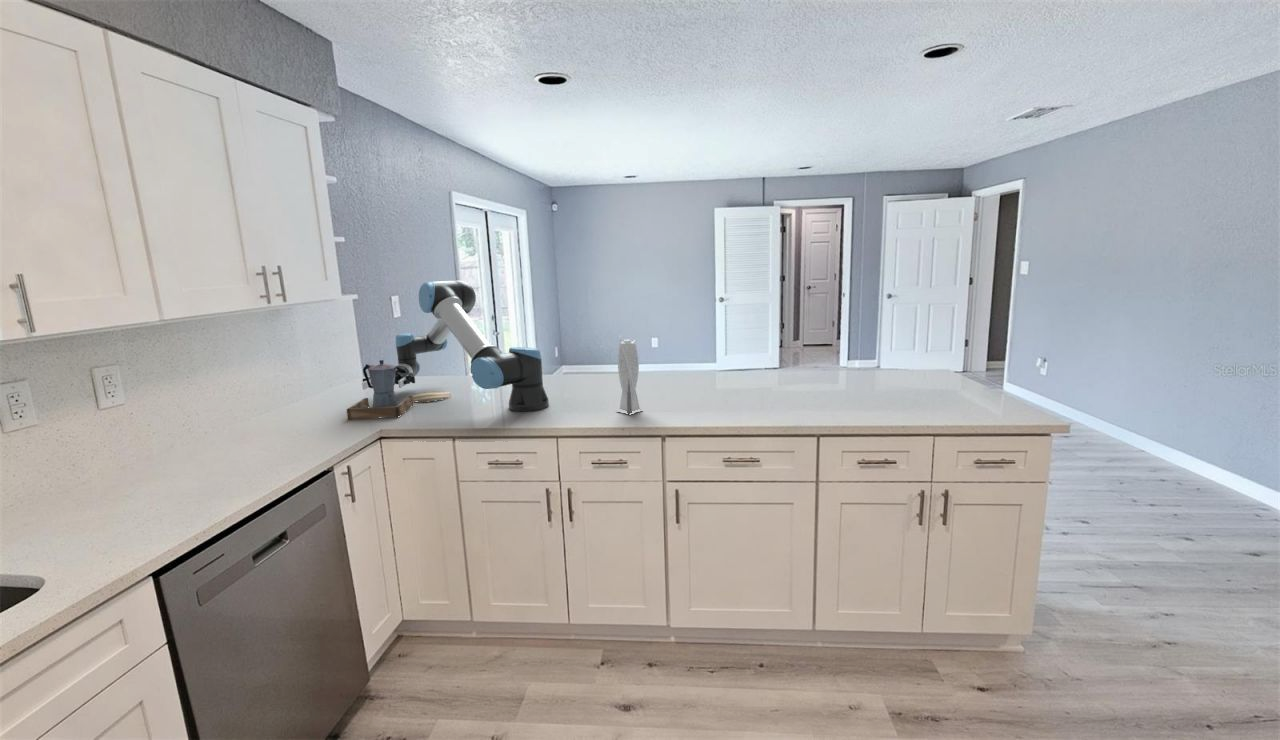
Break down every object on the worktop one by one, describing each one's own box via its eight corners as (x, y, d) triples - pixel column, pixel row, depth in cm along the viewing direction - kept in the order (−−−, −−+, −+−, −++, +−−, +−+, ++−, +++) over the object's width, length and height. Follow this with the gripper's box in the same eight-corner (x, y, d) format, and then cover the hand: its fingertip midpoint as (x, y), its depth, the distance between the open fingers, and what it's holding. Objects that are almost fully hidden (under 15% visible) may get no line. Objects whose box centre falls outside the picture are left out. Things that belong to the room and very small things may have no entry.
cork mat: (454, 398, 233) (454, 397, 233) (413, 404, 226) (413, 402, 226) (447, 391, 247) (446, 389, 247) (408, 396, 240) (407, 394, 239)
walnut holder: (366, 407, 223) (364, 398, 222) (413, 405, 225) (412, 395, 224) (347, 419, 207) (346, 409, 206) (399, 417, 208) (398, 407, 207)
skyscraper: (613, 411, 208) (610, 336, 202) (628, 406, 214) (626, 333, 208) (629, 415, 202) (627, 338, 196) (645, 410, 208) (643, 335, 202)
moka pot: (394, 414, 212) (388, 362, 208) (358, 413, 215) (351, 362, 211) (409, 408, 221) (403, 357, 217) (374, 407, 224) (368, 357, 220)
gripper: (431, 381, 240) (415, 393, 219) (371, 383, 238) (349, 396, 217) (429, 364, 238) (413, 374, 217) (369, 366, 237) (346, 377, 216)
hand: (381, 385), depth 217 cm, fingers open, 13 cm apart
